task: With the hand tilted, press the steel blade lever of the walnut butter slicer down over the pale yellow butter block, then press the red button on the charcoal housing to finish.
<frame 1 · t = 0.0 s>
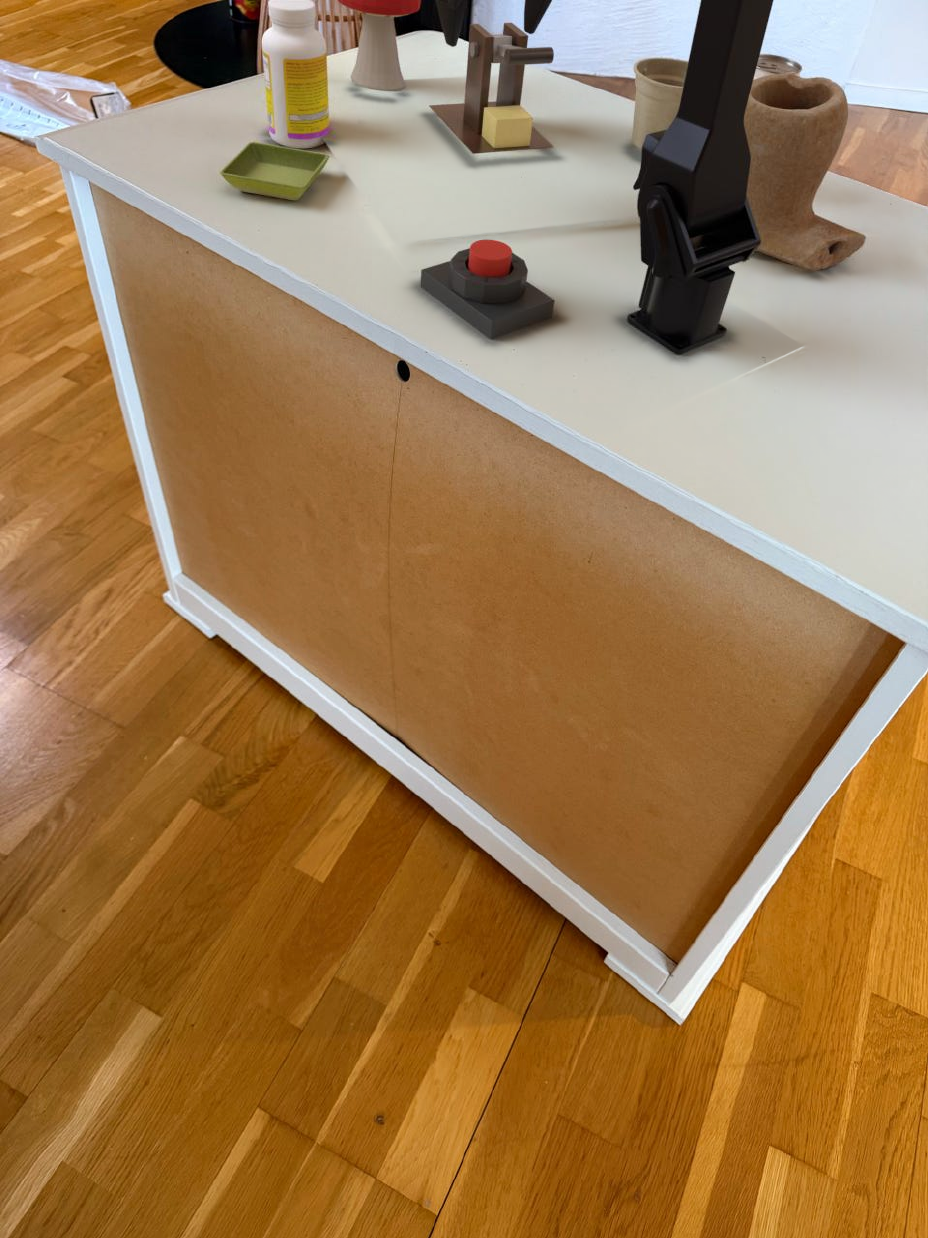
hand: (490, 38, 81), 15 cm above the table, tool pointing down, fingers open, 9 cm apart
start button: (490, 259, 76), point 4 cm above the table, slide at 0.1 cm
butter: (505, 140, 100), resting on slicer
flower pot: (656, 155, 104), on the table
decorative mushroom: (377, 93, 110), on the table
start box: (485, 302, 79), on the table
slicer: (488, 136, 104), on the table
clay smoking pipe: (764, 249, 91), on the table
supplement bottle: (299, 140, 99), on the table
olive green shallow tray: (278, 186, 91), on the table
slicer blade: (511, 51, 94), point 10 cm above the table, hinge at 12.0°
can: (738, 183, 101), on the table
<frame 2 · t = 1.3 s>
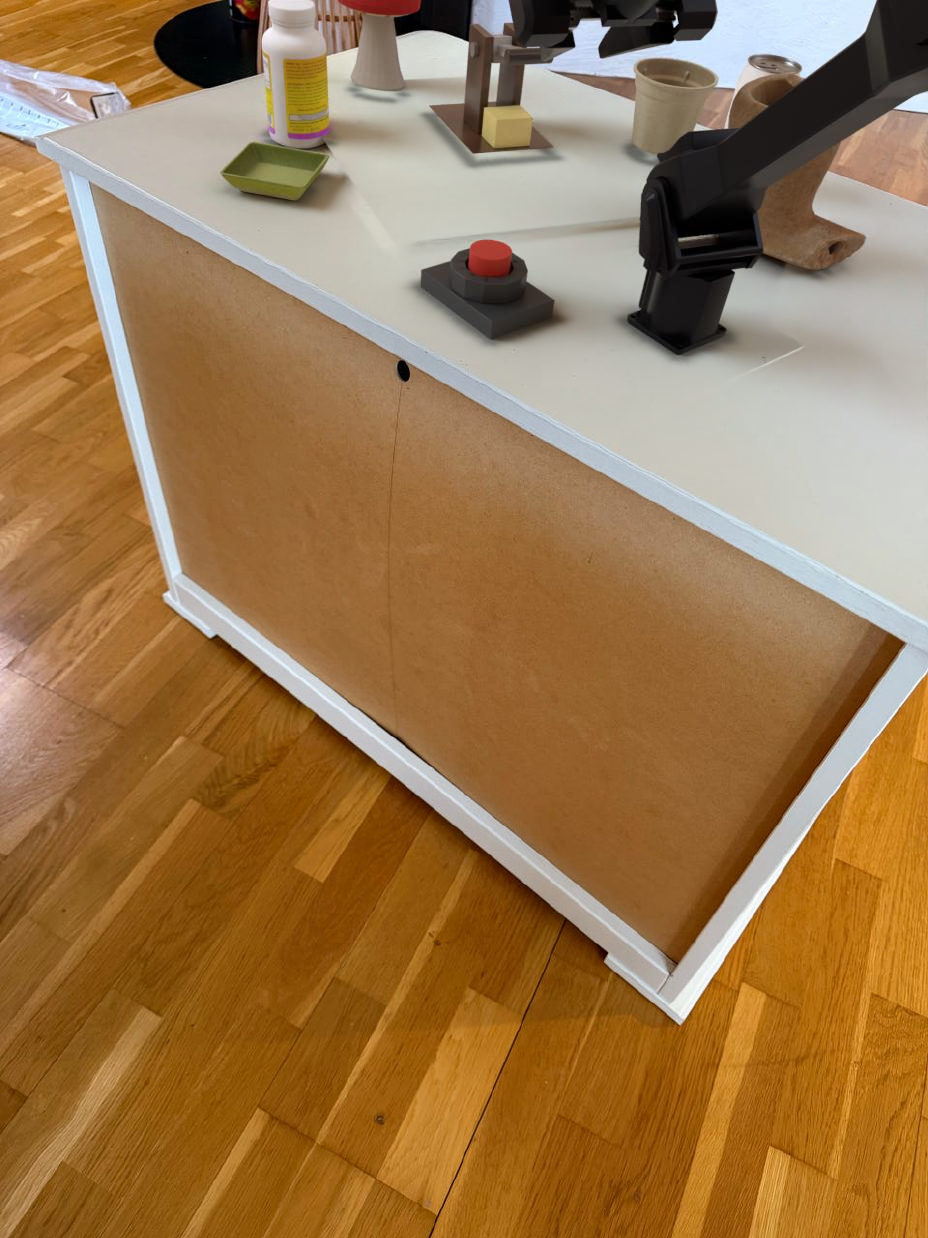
hand: (571, 54, 84), 14 cm above the table, tool tilted 45°, fingers open, 6 cm apart
nothing on the table moved.
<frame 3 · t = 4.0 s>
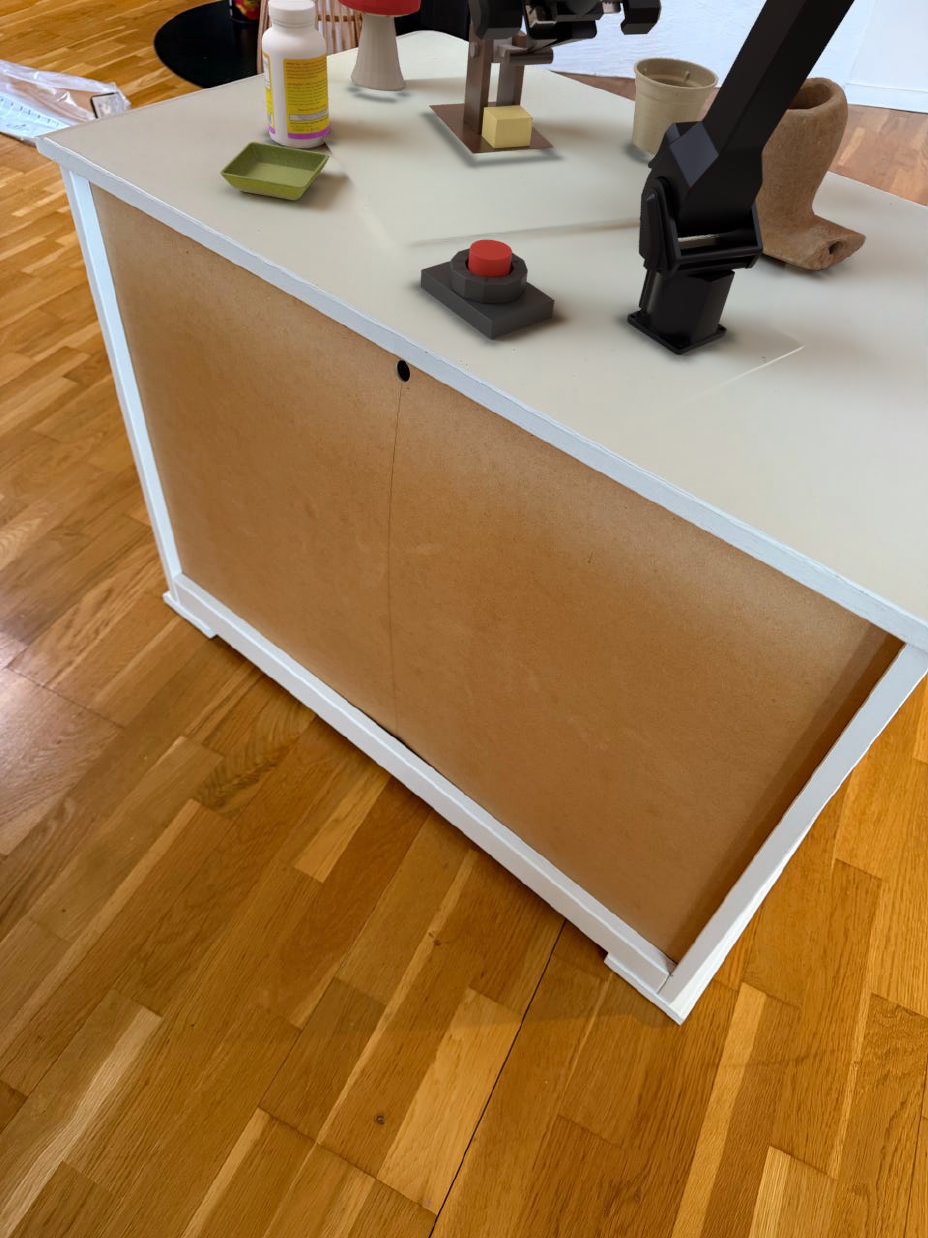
hand: (530, 46, 90), 11 cm above the table, tool tilted 45°, fingers closed, pressing on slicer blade
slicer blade: (511, 52, 94), point 10 cm above the table, hinge at 11.5°, touching gripper
everything else where it was.
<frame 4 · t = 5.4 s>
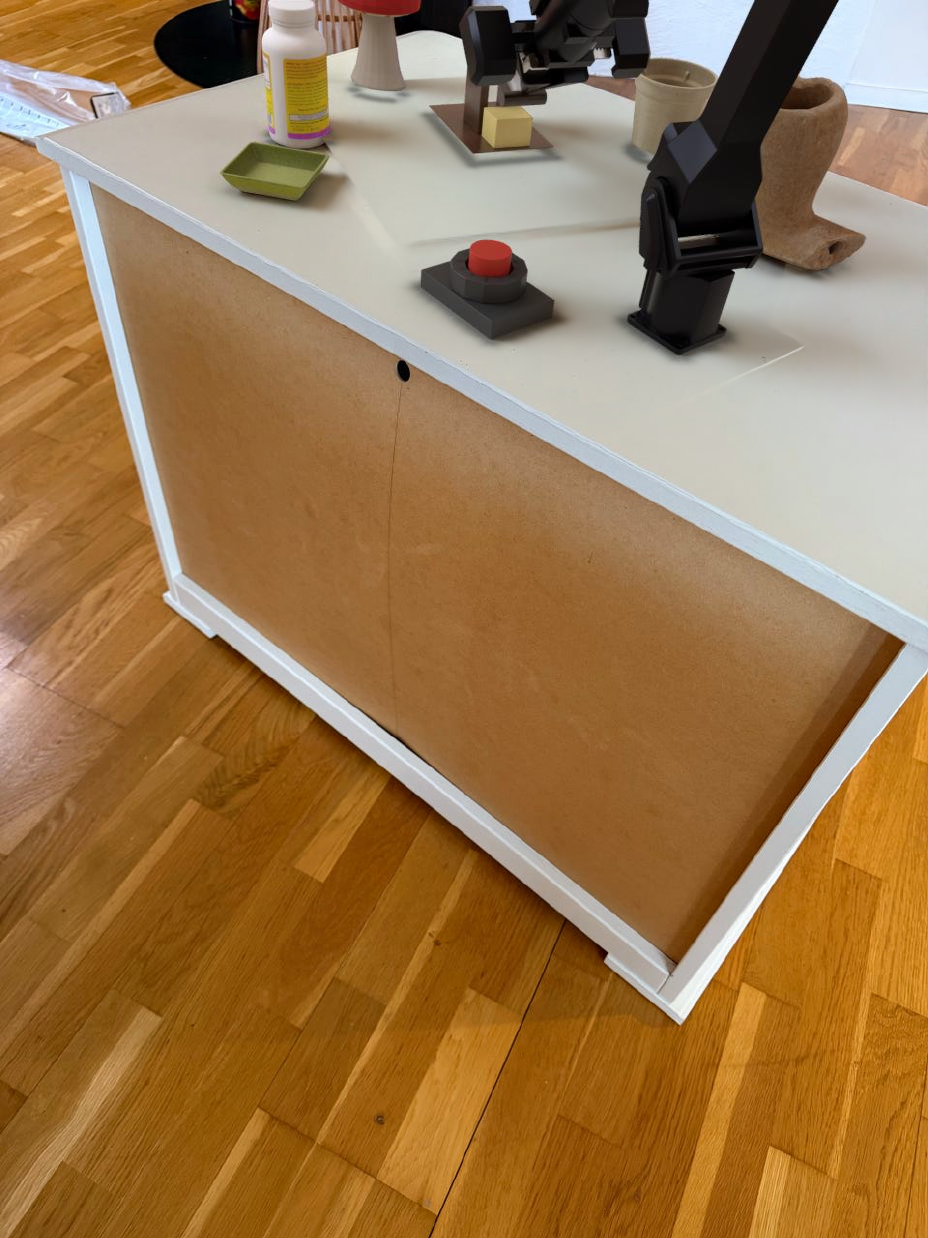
hand: (524, 88, 93), 8 cm above the table, tool tilted 45°, fingers closed, pressing on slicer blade
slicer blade: (508, 70, 96), point 8 cm above the table, hinge at -16.8°, touching gripper
everything else where it was.
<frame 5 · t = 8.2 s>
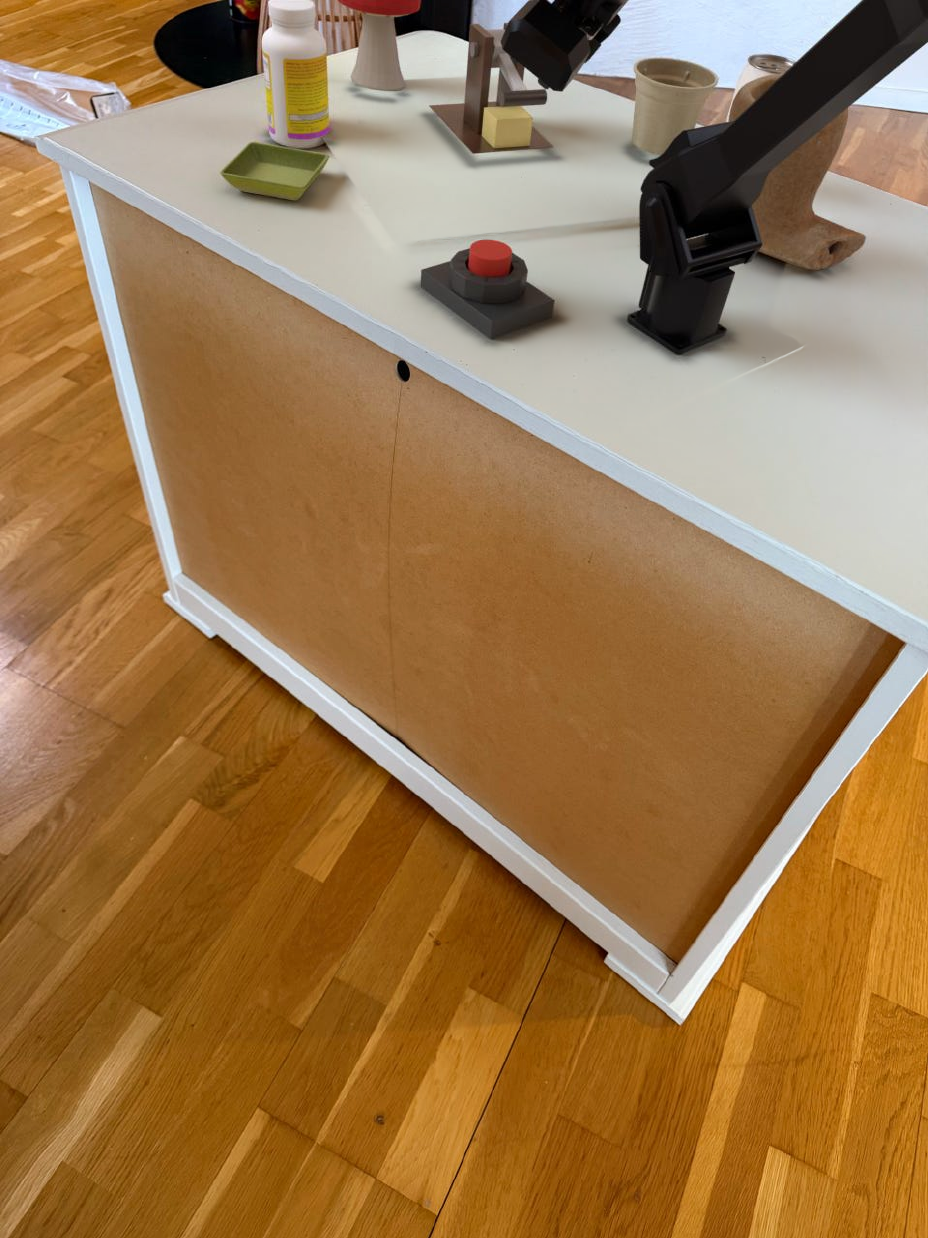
hand: (543, 84, 81), 12 cm above the table, tool tilted 30°, fingers closed
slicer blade: (508, 70, 96), point 8 cm above the table, hinge at -16.8°
everything else where it was.
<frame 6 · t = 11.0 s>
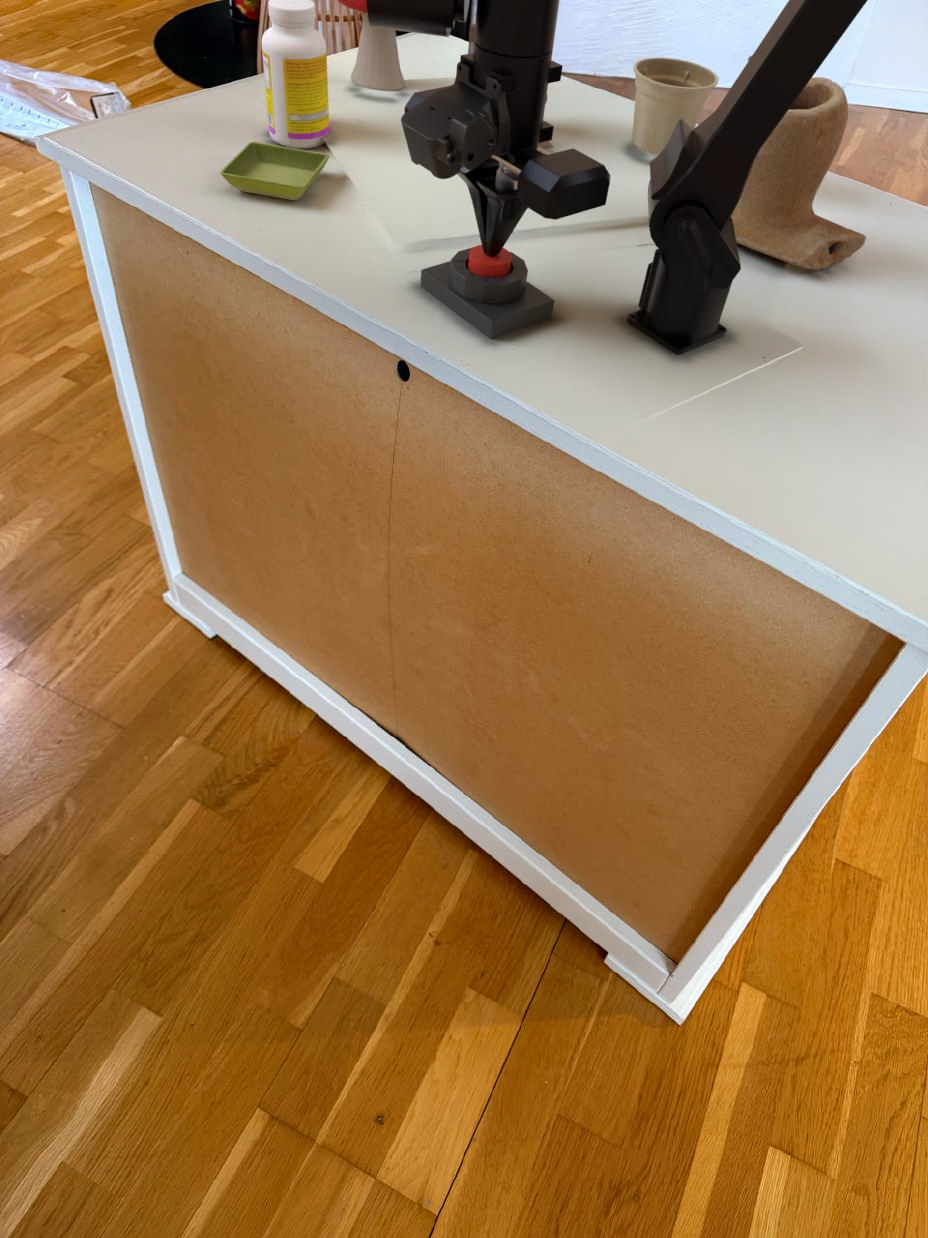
hand: (491, 254, 75), 4 cm above the table, tool pointing down, fingers closed, pressing on start button
start button: (489, 263, 76), point 4 cm above the table, slide at -0.3 cm, touching gripper
everything else where it was.
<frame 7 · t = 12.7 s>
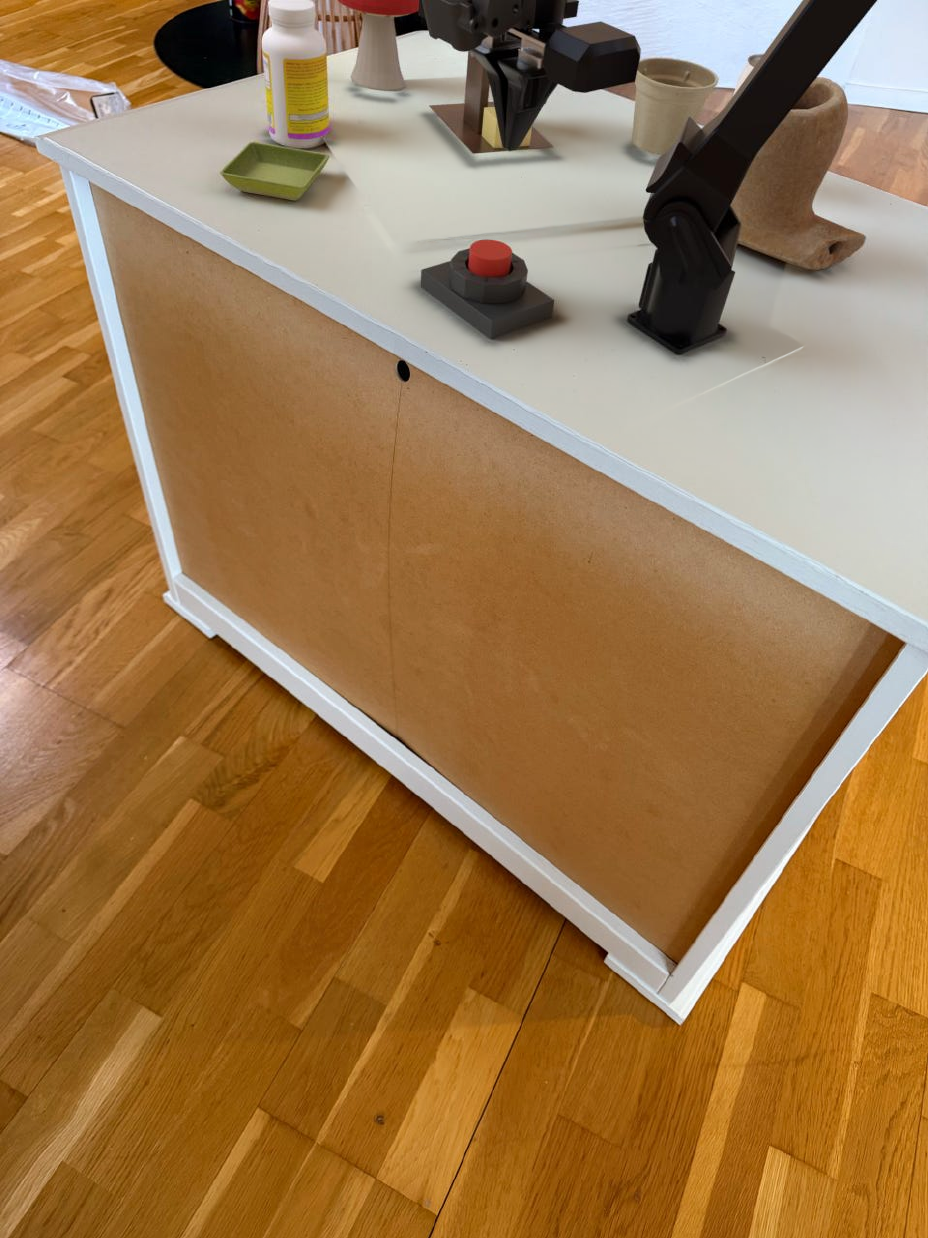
hand: (510, 148, 72), 12 cm above the table, tool pointing down, fingers closed
start button: (490, 259, 76), point 4 cm above the table, slide at 0.1 cm
everything else where it was.
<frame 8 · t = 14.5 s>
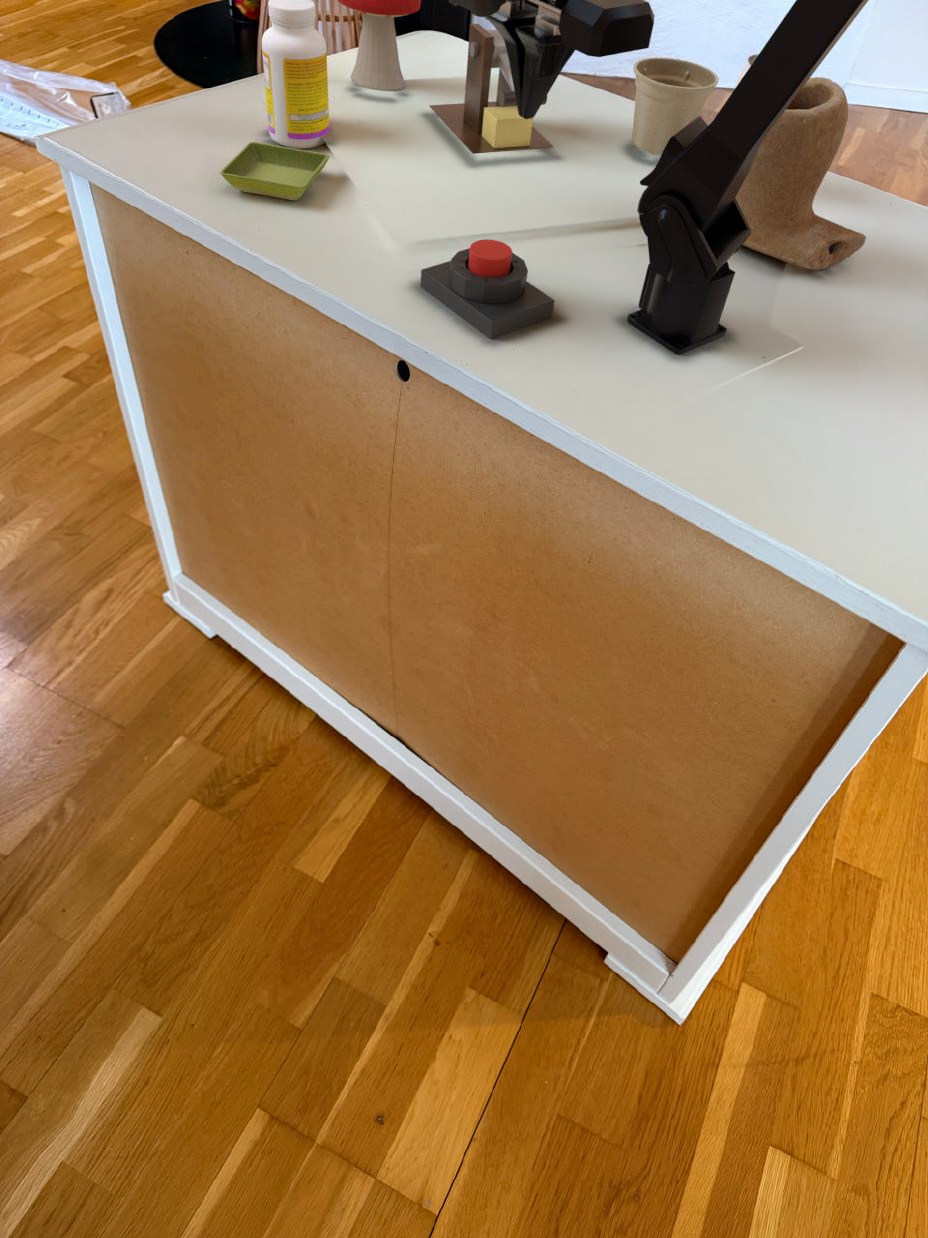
hand: (526, 117, 74), 13 cm above the table, tool pointing down, fingers closed
nothing on the table moved.
at the end: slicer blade at -17° (first picture: +12°); start button pushed in 1.2 cm at the most during the clip, back to where it started at the end; start button slide at 0.1 cm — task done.
